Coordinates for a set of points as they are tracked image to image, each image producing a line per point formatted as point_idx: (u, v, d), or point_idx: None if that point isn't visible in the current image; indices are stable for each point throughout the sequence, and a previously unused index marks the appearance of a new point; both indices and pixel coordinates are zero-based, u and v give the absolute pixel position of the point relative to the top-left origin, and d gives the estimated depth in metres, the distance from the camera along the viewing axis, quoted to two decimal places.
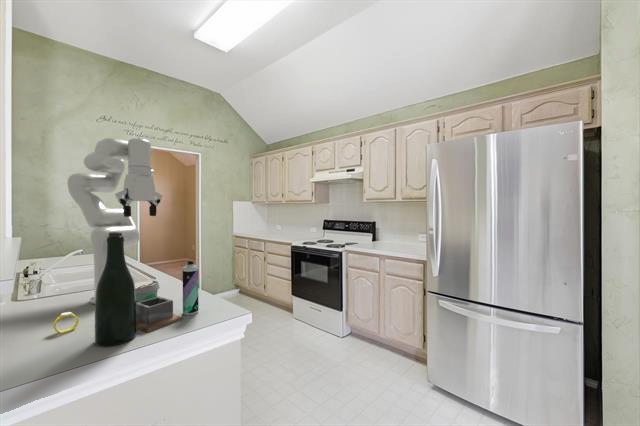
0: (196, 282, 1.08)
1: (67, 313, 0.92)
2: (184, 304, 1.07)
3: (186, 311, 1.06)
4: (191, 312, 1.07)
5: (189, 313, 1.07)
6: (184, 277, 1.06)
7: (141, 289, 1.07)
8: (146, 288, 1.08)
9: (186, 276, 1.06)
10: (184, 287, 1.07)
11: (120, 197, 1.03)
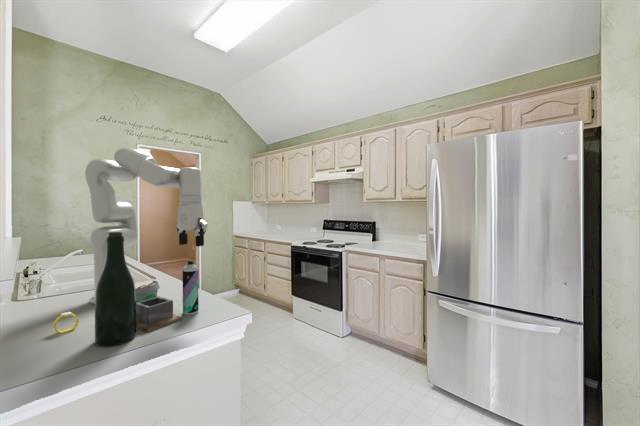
0: (196, 282, 1.08)
1: (67, 313, 0.92)
2: (184, 304, 1.07)
3: (186, 311, 1.06)
4: (191, 312, 1.07)
5: (189, 313, 1.07)
6: (184, 277, 1.06)
7: (141, 289, 1.07)
8: (146, 288, 1.08)
9: (186, 276, 1.06)
10: (184, 287, 1.07)
11: None
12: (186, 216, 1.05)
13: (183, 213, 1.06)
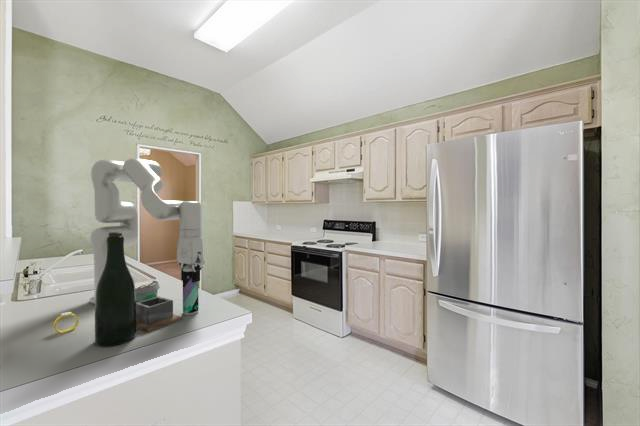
0: (196, 282, 1.08)
1: (67, 313, 0.92)
2: (184, 304, 1.07)
3: (186, 311, 1.07)
4: (191, 312, 1.07)
5: (189, 313, 1.07)
6: (184, 277, 1.06)
7: (141, 289, 1.07)
8: (146, 288, 1.08)
9: (186, 276, 1.06)
10: (184, 287, 1.07)
11: None
12: (186, 250, 1.05)
13: (183, 247, 1.06)
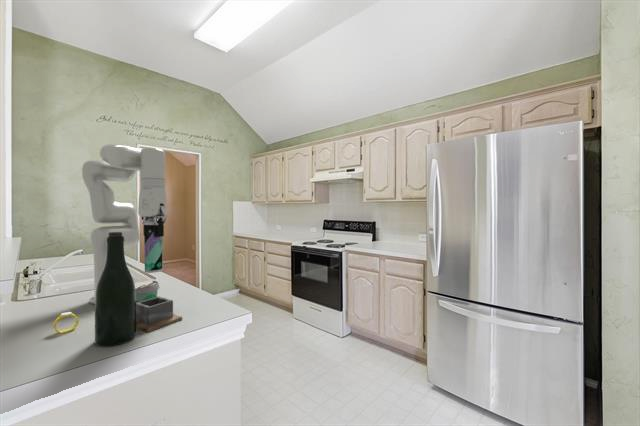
0: (159, 237, 0.99)
1: (67, 313, 0.92)
2: (146, 261, 0.98)
3: (148, 268, 0.97)
4: (153, 270, 0.98)
5: (151, 271, 0.97)
6: (145, 231, 0.97)
7: (141, 289, 1.07)
8: (146, 288, 1.08)
9: (147, 230, 0.97)
10: (145, 242, 0.97)
11: None
12: (147, 201, 0.96)
13: (144, 198, 0.97)
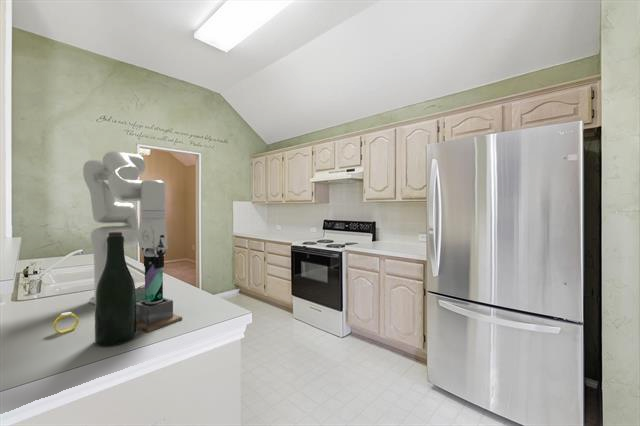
0: (159, 268, 0.99)
1: (67, 313, 0.92)
2: (146, 292, 0.98)
3: (148, 300, 0.98)
4: (154, 301, 0.98)
5: (151, 302, 0.98)
6: (146, 263, 0.97)
7: (141, 289, 1.07)
8: None
9: (147, 262, 0.97)
10: (146, 274, 0.98)
11: None
12: (147, 234, 0.97)
13: (145, 230, 0.97)
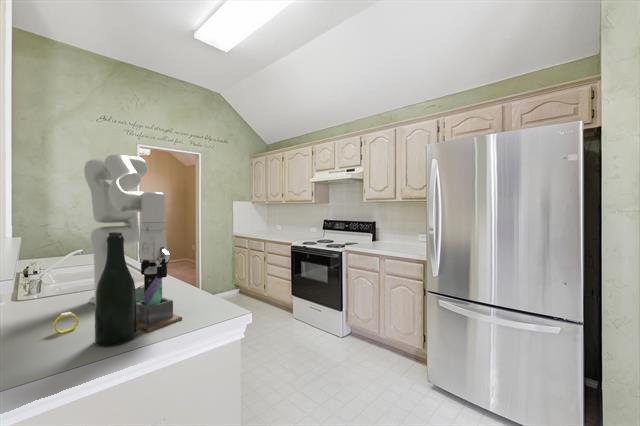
0: (159, 285, 1.00)
1: (67, 313, 0.92)
2: None
3: None
4: None
5: None
6: (145, 280, 0.98)
7: (141, 289, 1.07)
8: None
9: (147, 279, 0.98)
10: (145, 291, 0.98)
11: None
12: (147, 246, 0.97)
13: (145, 242, 0.97)
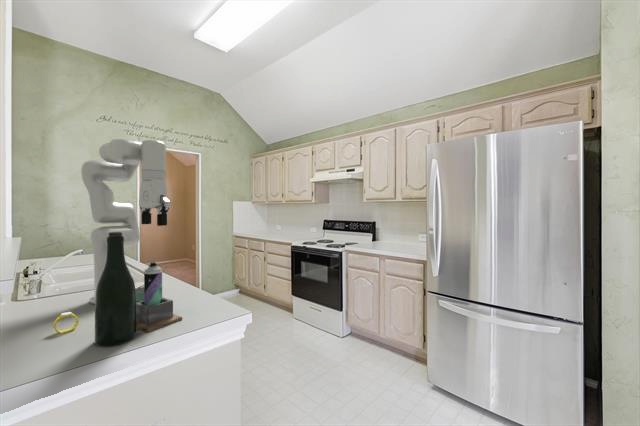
0: (159, 285, 1.00)
1: (67, 313, 0.92)
2: None
3: None
4: None
5: None
6: (145, 280, 0.98)
7: (141, 289, 1.07)
8: None
9: (147, 279, 0.98)
10: (145, 291, 0.98)
11: None
12: (148, 193, 0.97)
13: (145, 190, 0.98)
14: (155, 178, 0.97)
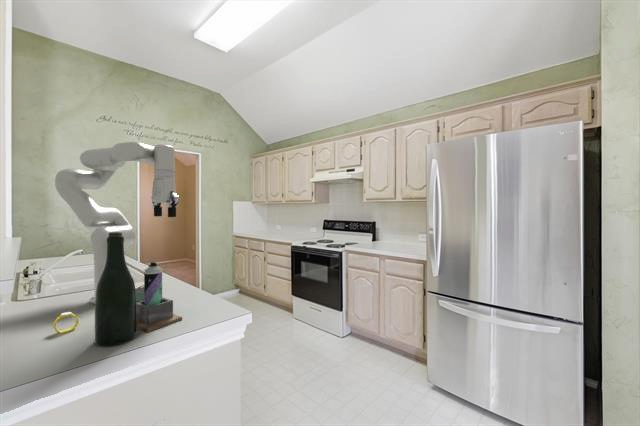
0: (159, 285, 1.00)
1: (67, 313, 0.92)
2: None
3: None
4: None
5: None
6: (145, 280, 0.98)
7: (141, 289, 1.07)
8: None
9: (147, 279, 0.98)
10: (145, 291, 0.98)
11: None
12: (160, 189, 1.15)
13: (157, 187, 1.15)
14: (166, 177, 1.15)
